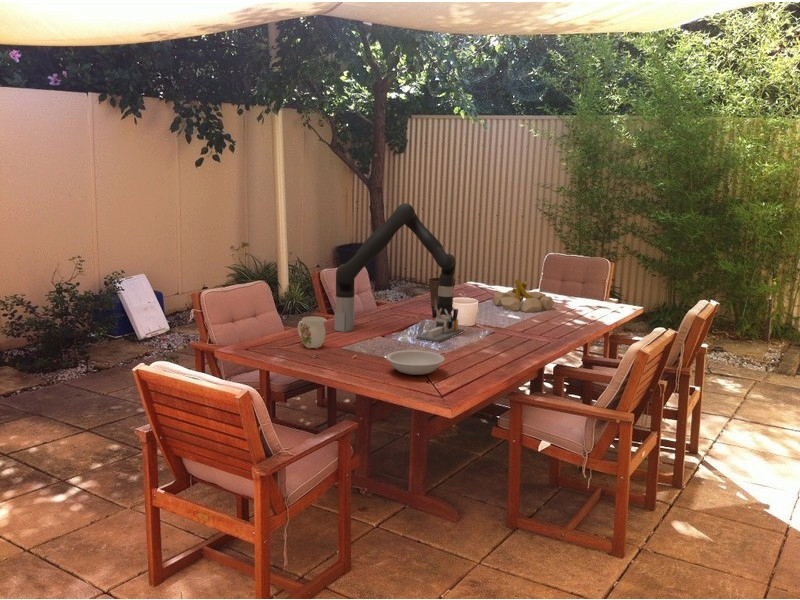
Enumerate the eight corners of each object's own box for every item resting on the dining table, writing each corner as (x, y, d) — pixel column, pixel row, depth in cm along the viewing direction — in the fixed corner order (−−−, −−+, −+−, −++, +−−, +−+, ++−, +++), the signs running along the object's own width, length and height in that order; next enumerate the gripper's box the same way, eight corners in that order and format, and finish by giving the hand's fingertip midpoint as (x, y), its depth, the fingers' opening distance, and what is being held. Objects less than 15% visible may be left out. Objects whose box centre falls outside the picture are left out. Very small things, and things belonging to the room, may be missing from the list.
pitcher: (306, 341, 369) (307, 312, 367) (334, 347, 358) (334, 318, 355) (289, 344, 361) (289, 315, 358) (316, 352, 350) (317, 322, 347)
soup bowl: (425, 362, 337) (426, 347, 336) (455, 377, 317) (455, 361, 315) (375, 368, 326) (376, 353, 325) (403, 384, 305) (403, 367, 304)
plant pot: (423, 307, 458) (424, 280, 455) (432, 302, 473) (433, 276, 470) (449, 310, 452) (450, 282, 449) (458, 305, 467) (459, 278, 464)
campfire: (484, 302, 479) (486, 275, 476) (534, 301, 490) (536, 274, 486) (509, 314, 446) (511, 284, 443) (562, 312, 457) (564, 283, 454)
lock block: (445, 333, 385) (445, 319, 384) (434, 331, 388) (435, 317, 387) (454, 329, 394) (454, 316, 392) (443, 328, 397) (444, 314, 395)
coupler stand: (438, 343, 373) (438, 329, 371) (416, 339, 378) (416, 326, 377) (463, 332, 396) (464, 319, 395) (442, 329, 402) (443, 316, 401)
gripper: (429, 294, 387) (427, 327, 391) (455, 297, 380) (453, 331, 383) (436, 292, 394) (434, 324, 397) (462, 295, 387) (460, 328, 390)
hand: (444, 327), depth 390 cm, fingers closed on lock block, 6 cm apart
